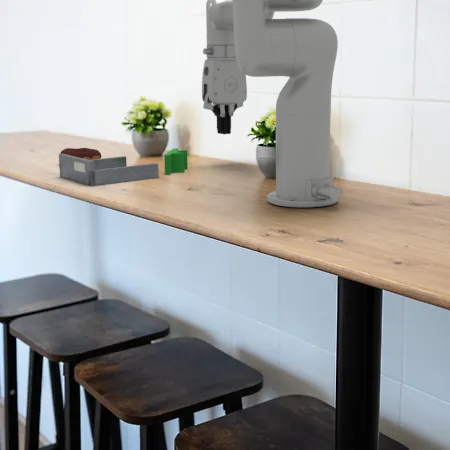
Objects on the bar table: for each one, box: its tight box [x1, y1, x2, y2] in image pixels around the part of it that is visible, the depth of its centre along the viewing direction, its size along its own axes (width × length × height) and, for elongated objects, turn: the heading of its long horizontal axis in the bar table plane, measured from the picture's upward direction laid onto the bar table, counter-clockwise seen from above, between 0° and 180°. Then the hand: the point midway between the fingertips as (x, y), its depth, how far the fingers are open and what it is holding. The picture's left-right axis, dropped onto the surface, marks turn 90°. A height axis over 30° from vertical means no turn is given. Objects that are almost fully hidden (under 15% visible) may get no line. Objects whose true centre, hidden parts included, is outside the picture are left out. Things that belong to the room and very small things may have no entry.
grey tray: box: [58, 153, 159, 187], centre depth 167 cm, size 15×16×5 cm
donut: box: [59, 147, 102, 160], centre depth 187 cm, size 10×10×4 cm
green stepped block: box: [163, 147, 189, 176], centre depth 175 cm, size 11×4×5 cm, turn 173°
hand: (224, 133), depth 181 cm, fingers closed
